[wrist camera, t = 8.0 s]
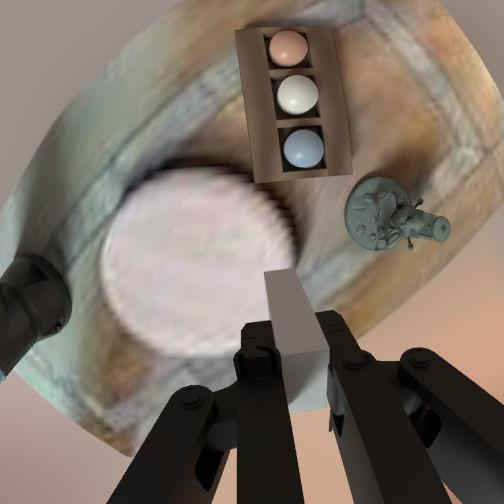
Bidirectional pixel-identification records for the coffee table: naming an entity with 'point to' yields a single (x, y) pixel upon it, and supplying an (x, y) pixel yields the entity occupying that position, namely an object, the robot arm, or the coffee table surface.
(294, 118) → the button board
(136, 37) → the coffee table surface
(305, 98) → the button cream
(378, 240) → the figurine
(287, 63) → the button terracotta
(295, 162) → the button slate
